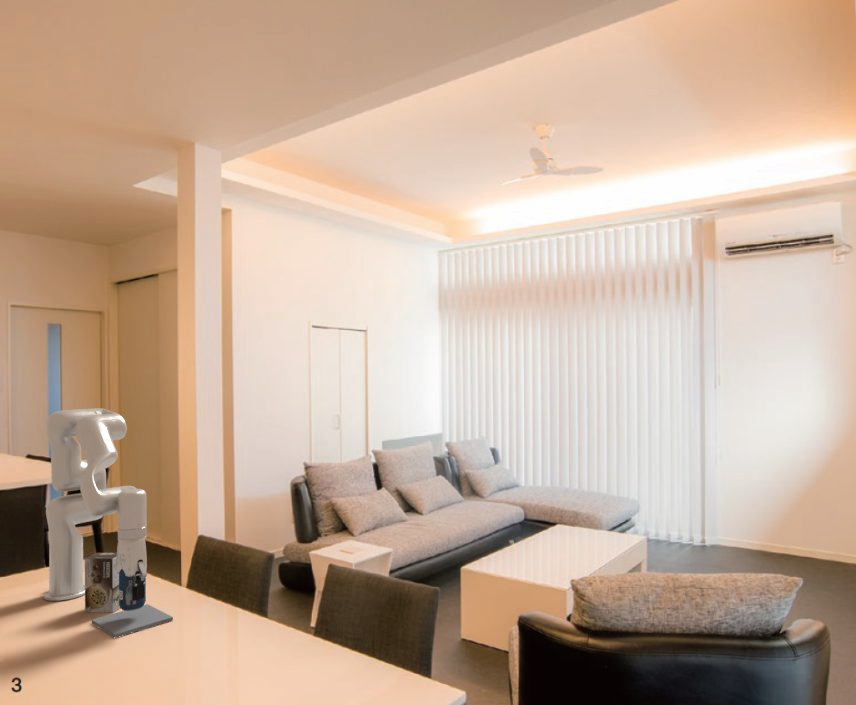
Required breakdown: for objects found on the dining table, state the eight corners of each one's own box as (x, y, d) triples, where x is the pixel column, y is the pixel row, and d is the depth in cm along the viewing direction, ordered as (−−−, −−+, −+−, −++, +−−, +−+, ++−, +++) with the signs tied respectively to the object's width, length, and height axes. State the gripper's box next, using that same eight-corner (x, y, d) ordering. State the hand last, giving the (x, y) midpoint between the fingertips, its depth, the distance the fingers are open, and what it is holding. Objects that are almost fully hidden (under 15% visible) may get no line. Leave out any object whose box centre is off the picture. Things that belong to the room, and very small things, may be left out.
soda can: (138, 601, 188) (138, 560, 188) (150, 606, 184) (150, 563, 184) (114, 608, 183) (114, 565, 183) (126, 613, 178) (126, 569, 179)
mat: (91, 623, 182) (91, 619, 183) (147, 607, 194) (147, 604, 194) (115, 638, 172) (115, 634, 172) (172, 620, 184) (172, 617, 184)
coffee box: (125, 605, 196) (125, 552, 197) (112, 613, 190) (112, 558, 191) (96, 604, 197) (97, 551, 198) (83, 612, 191) (83, 557, 191)
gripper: (106, 531, 187) (106, 593, 186) (132, 540, 175) (132, 607, 175) (132, 526, 192) (132, 586, 192) (159, 535, 181) (159, 599, 180)
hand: (132, 595), depth 183 cm, fingers closed on soda can, 6 cm apart
